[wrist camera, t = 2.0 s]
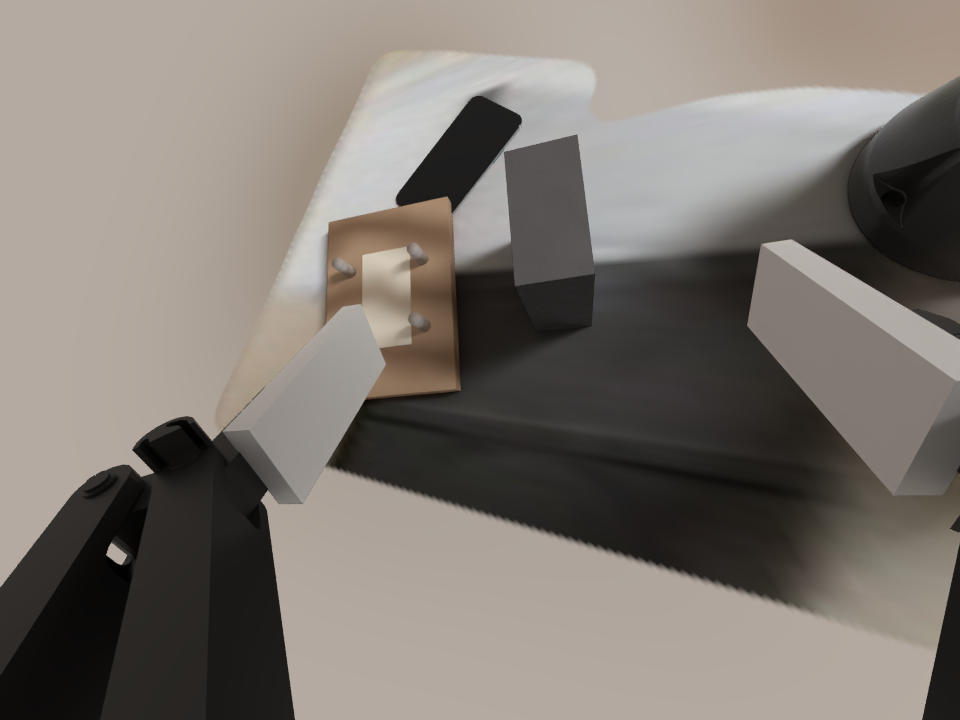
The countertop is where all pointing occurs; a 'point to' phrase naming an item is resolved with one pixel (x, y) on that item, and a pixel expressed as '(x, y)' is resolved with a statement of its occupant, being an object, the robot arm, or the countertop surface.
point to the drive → (550, 234)
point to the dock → (401, 292)
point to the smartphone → (462, 154)
